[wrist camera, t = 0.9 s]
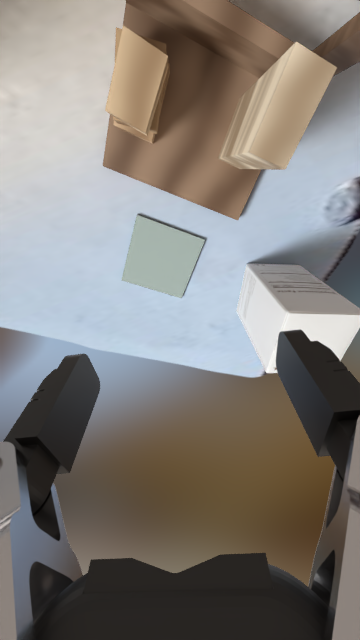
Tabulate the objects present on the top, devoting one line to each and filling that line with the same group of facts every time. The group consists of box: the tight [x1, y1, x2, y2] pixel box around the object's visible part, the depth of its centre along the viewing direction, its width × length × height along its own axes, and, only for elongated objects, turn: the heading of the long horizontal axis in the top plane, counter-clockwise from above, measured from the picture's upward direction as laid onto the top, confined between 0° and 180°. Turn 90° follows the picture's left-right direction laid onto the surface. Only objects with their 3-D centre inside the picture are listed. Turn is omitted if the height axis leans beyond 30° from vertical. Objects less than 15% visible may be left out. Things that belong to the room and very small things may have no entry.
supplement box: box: [236, 263, 360, 373], centre depth 32 cm, size 9×9×15 cm
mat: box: [122, 215, 205, 298], centre depth 34 cm, size 10×10×1 cm
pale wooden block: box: [217, 42, 337, 169], centre depth 20 cm, size 3×6×13 cm, turn 160°
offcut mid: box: [113, 28, 167, 134], centre depth 21 cm, size 4×6×2 cm
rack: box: [103, 0, 360, 220], centre depth 19 cm, size 18×14×17 cm
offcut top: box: [105, 25, 168, 136], centre depth 19 cm, size 4×5×2 cm
